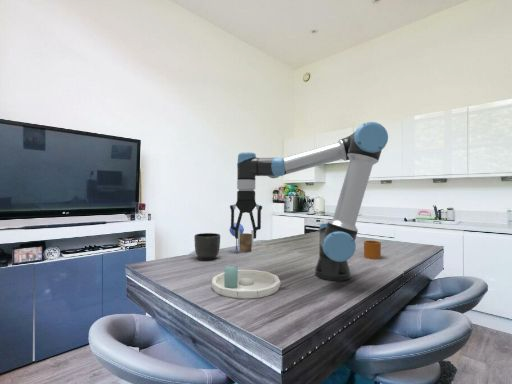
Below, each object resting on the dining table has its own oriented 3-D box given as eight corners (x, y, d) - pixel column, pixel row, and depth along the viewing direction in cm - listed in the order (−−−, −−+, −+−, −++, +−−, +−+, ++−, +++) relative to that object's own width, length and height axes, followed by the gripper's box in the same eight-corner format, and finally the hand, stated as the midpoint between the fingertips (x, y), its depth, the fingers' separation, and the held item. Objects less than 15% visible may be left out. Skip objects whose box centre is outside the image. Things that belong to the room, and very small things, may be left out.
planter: (207, 254, 160) (207, 232, 160) (225, 258, 152) (225, 234, 152) (188, 259, 149) (189, 235, 149) (206, 263, 140) (207, 237, 140)
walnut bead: (251, 249, 116) (251, 233, 116) (251, 252, 111) (252, 235, 111) (239, 249, 116) (239, 233, 116) (239, 252, 111) (239, 235, 111)
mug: (387, 257, 157) (387, 241, 157) (374, 260, 150) (375, 244, 150) (372, 254, 165) (373, 239, 164) (360, 256, 158) (360, 241, 158)
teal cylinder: (221, 285, 104) (222, 267, 104) (233, 283, 107) (233, 265, 107) (228, 289, 100) (228, 270, 100) (240, 286, 103) (240, 268, 103)
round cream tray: (288, 281, 113) (288, 273, 113) (262, 303, 90) (262, 294, 90) (233, 272, 125) (233, 265, 125) (198, 290, 101) (198, 282, 101)
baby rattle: (241, 254, 160) (241, 223, 160) (227, 253, 162) (227, 223, 162) (245, 251, 169) (245, 222, 169) (231, 250, 170) (231, 221, 170)
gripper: (266, 190, 118) (266, 244, 118) (224, 190, 117) (224, 244, 117) (268, 190, 111) (268, 248, 111) (224, 189, 109) (223, 248, 109)
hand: (245, 246), depth 114 cm, fingers closed on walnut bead, 5 cm apart
